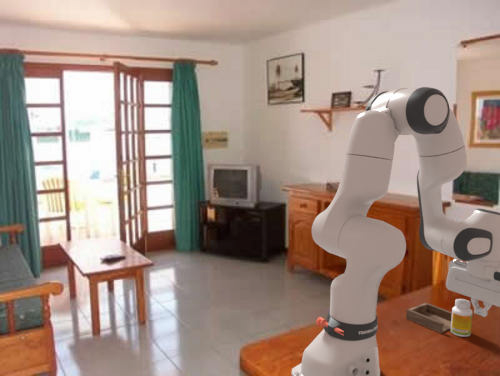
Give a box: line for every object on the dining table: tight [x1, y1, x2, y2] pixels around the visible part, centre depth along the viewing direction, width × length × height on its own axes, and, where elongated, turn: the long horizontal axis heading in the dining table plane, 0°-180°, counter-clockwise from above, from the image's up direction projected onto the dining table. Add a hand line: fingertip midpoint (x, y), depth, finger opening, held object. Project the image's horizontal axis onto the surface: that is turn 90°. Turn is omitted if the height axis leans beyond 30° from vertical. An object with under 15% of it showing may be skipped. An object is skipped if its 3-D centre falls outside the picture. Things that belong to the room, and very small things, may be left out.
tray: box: [405, 302, 452, 334], centre depth 139 cm, size 10×12×3 cm
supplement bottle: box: [450, 298, 473, 338], centre depth 131 cm, size 5×5×10 cm
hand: (480, 314), depth 126 cm, fingers closed
